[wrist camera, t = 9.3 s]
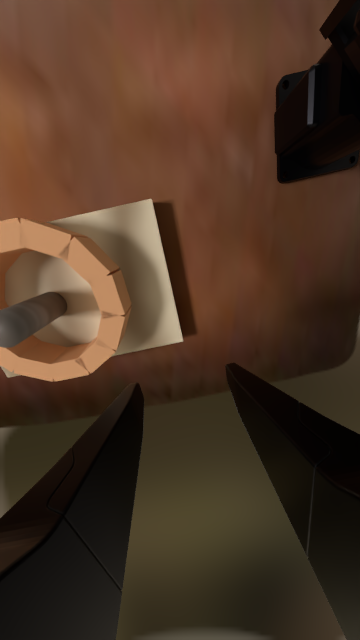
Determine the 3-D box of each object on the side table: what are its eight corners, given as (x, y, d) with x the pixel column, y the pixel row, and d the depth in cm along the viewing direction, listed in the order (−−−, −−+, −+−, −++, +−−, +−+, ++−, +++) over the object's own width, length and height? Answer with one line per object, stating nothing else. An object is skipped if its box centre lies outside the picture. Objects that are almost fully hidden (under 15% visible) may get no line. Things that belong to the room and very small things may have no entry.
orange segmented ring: (102, 209, 15) (87, 201, 13) (145, 347, 20) (141, 363, 17) (-51, 244, 16) (-98, 243, 13) (26, 371, 20) (4, 392, 18)
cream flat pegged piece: (152, 202, 17) (141, 171, 10) (182, 335, 21) (188, 378, 14) (-56, 249, 17) (-211, 252, 10) (18, 369, 22) (-53, 427, 15)
